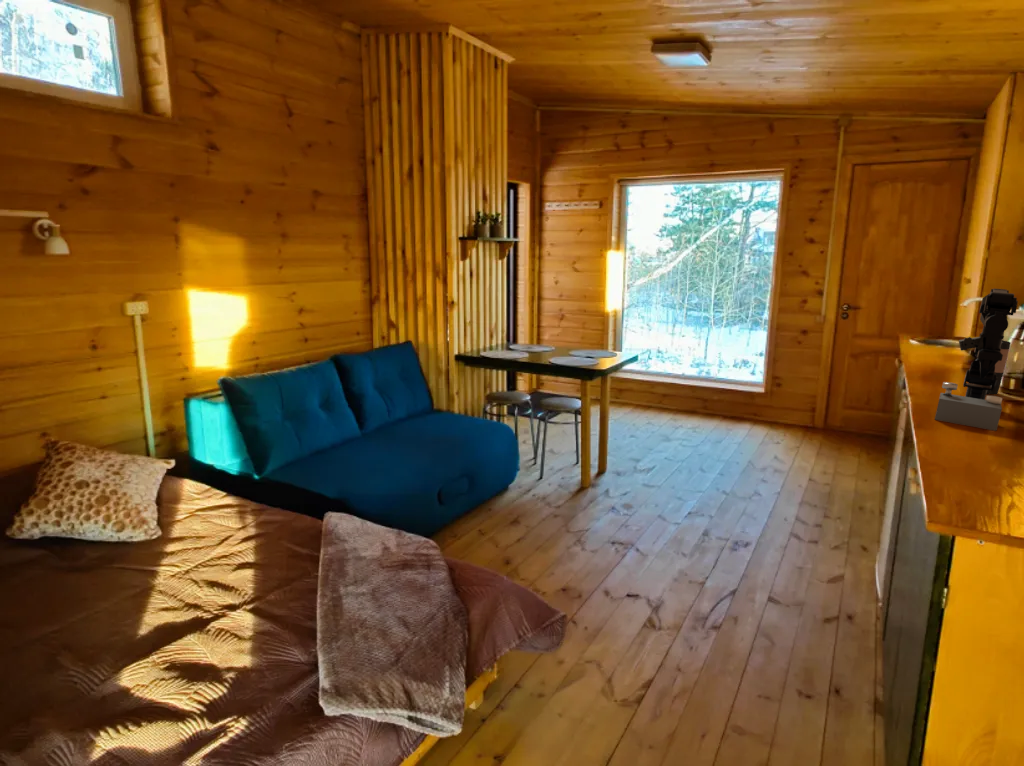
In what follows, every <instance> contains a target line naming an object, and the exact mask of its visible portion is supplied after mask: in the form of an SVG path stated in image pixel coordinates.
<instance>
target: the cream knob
mask: <svg viewBox="0 0 1024 766" xmlns="http://www.w3.org/2000/svg"><path fill="white" fill-rule="evenodd" d="M985 400H986V402H989V403H993V404H1001V405H1002V401H1003V397H1000V396H997V395H986V397H985Z"/></svg>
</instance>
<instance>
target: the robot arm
mask: <svg viewBox="0 0 1024 766" xmlns="http://www.w3.org/2000/svg"><path fill="white" fill-rule="evenodd" d="M1017 308H1018V300H1017V296H1015V293H1010V290H1007V289H1004V288H990V293H988V294H987V295H985V296H983V297H982V300H981V303H980V307H979V310H978V311H979V312H978V313H979V314H980V317H979V320H980V322H981V324H982V325H983V327H982V331H981V332H980V333H979V336H976V337H971V336H970V337H964V338H963V339H959V340H958V344H959V348H960V349H959V350H960V351H967V350H969V349H974V351H973V352H974V353H976V354H975V357H976V359H974V360H973V361H972V362H971V363H970V366H969V369H966V372H965V376H964V381H963V384H962V385H963V386H962V387H965V388H966V391H965V395H964V397H970V398H977V399H983V400H986V397H987V394H986V393H987V390H990V391H992V390H995V387H996V383H997V380H998V378H997V376H996V374H994V372H995V364H996V363H997V362H998V361H1002V357H1003V355H1002V354H1001V352H1000V351H1001V348H1000V347H1001V343H1002V341H1003V340H1004V338H1005V336H1004V335H1005V334H1004V333H1005V331H1006V330H1007V329H1008V327H1009V321H1008V317H1009V316H1014V314H1016V313H1017ZM983 385H984V386H983ZM989 385H990V386H991V387H990V386H989Z"/></svg>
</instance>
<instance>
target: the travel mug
mask: <svg viewBox="0 0 1024 766" xmlns="http://www.w3.org/2000/svg"><path fill="white" fill-rule="evenodd" d="M1011 344H1012V342H1010V341H1007V340H1002V343H1001V347H1000V348H1001V351H1000V352H1001V354H1002V355H1003V357H1002V361H998V362H997V363H996V364H995V372H994V374H996V376H997V378H998V380H997V383H996V387H995V390H992V391H990V390H987V393H986V395H990V394H997V393H998V394H999V389H1000V387H1001V383H1002V380H1003V376H1004V372H1005V369H1006V364H1007V361H1008V357H1009V352H1010V347H1011ZM983 386H984V385H983ZM989 386H990V385H989ZM990 387H991V386H990ZM998 394H997V395H998Z"/></svg>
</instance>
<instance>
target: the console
mask: <svg viewBox="0 0 1024 766" xmlns="http://www.w3.org/2000/svg"><path fill="white" fill-rule="evenodd" d="M1002 410H1003V408H1002V403H1001V404H993V403H989V402H986V399H985V400H983V399H977V398H970V397H965V395H964V396H962V395H958V394H952V393H951V396H945V393H944V392H940V394H939V397H938V403H937V407H936V411H935V416H934V420H935V421H940V422H945V423H951V424H956V425H962V426H968V427H972V428H973V427H974V428H979V429H984V430H988V431H995V432H996V431H997V430H998V425H999V422H1000V418H1001V414H1002Z"/></svg>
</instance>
